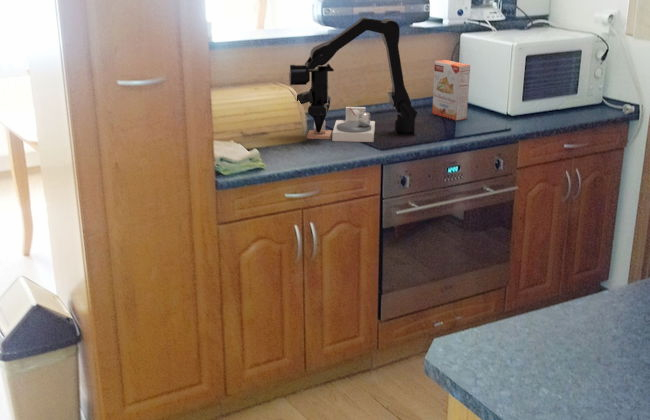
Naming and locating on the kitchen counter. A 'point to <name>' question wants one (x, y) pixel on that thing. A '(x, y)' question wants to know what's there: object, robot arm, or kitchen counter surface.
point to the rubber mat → (319, 135)
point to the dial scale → (353, 127)
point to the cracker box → (451, 89)
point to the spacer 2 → (364, 119)
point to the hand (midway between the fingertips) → (319, 128)
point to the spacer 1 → (321, 129)
